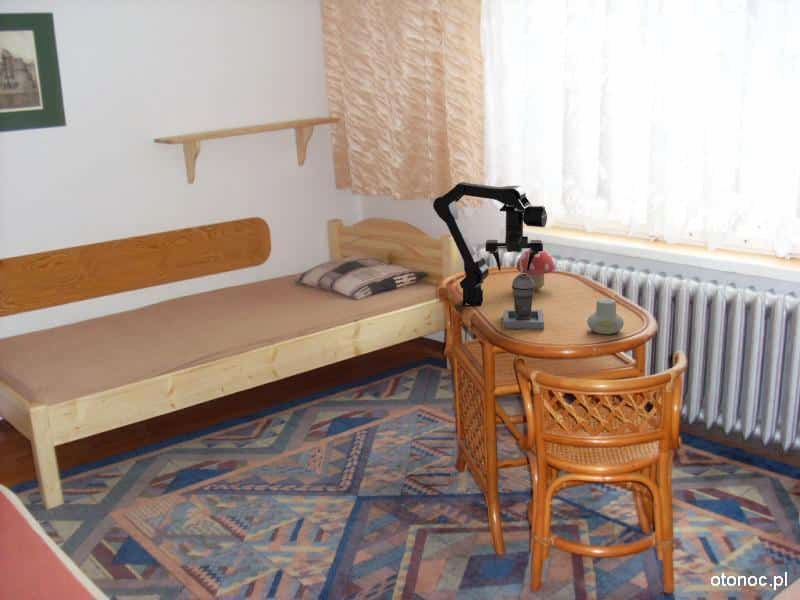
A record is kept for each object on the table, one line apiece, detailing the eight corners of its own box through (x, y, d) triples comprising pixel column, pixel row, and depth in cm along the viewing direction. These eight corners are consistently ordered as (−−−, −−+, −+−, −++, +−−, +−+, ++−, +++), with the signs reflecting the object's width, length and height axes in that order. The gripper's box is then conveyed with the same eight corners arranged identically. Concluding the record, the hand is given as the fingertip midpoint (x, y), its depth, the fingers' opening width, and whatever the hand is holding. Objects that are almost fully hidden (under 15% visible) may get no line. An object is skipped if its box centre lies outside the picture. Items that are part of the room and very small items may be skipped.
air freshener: (622, 327, 276) (623, 297, 273) (624, 336, 268) (625, 305, 265) (586, 326, 277) (587, 296, 274) (587, 335, 270) (588, 304, 267)
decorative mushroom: (551, 296, 310) (552, 254, 305) (513, 294, 313) (514, 253, 309) (555, 285, 322) (556, 245, 318) (518, 284, 325) (519, 244, 321)
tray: (503, 329, 277) (503, 321, 276) (503, 316, 289) (503, 309, 288) (543, 329, 275) (544, 322, 275) (542, 317, 287) (542, 310, 287)
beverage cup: (527, 326, 277) (529, 264, 271) (507, 322, 281) (508, 261, 275) (537, 319, 283) (539, 259, 277) (517, 316, 287) (518, 256, 281)
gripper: (485, 230, 283) (485, 277, 287) (544, 230, 281) (543, 277, 285) (485, 223, 293) (485, 268, 298) (542, 223, 291) (541, 268, 296)
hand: (513, 270), depth 294 cm, fingers open, 9 cm apart
